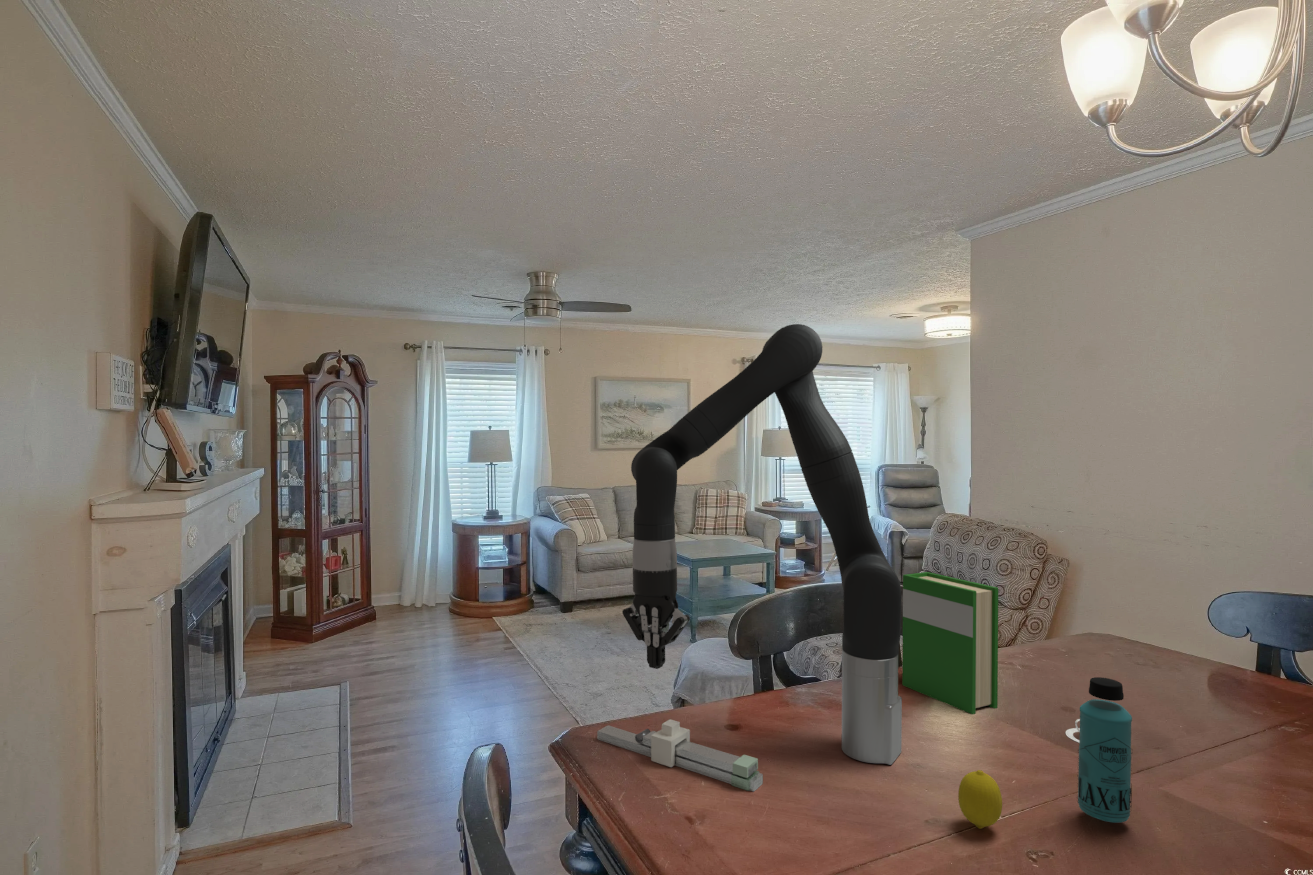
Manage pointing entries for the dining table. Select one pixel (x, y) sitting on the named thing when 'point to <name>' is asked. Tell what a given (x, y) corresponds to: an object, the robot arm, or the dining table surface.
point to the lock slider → (667, 742)
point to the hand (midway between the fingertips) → (656, 666)
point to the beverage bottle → (1105, 753)
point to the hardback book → (950, 640)
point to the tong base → (678, 758)
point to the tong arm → (713, 757)
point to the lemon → (980, 799)
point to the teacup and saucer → (1073, 731)
